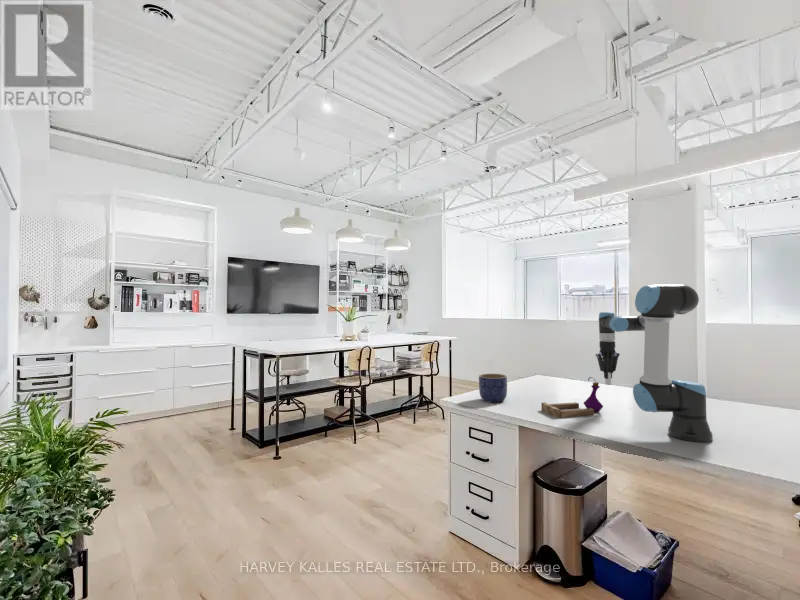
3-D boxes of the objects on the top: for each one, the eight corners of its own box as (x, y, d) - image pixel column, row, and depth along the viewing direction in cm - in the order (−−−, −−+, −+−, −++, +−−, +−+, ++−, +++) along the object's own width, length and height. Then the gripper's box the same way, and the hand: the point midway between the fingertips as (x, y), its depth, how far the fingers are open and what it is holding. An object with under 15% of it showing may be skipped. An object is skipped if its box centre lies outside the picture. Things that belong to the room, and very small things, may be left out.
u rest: (593, 415, 200) (593, 407, 200) (557, 417, 197) (556, 409, 197) (576, 407, 215) (575, 400, 215) (541, 410, 211) (541, 402, 211)
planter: (490, 396, 246) (490, 372, 247) (513, 400, 234) (512, 375, 234) (473, 400, 236) (473, 375, 236) (496, 405, 223) (495, 379, 223)
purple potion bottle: (597, 409, 211) (596, 375, 212) (603, 412, 204) (602, 378, 204) (583, 408, 212) (582, 375, 213) (588, 412, 205) (587, 378, 205)
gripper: (613, 339, 215) (614, 382, 215) (591, 340, 213) (592, 383, 213) (623, 340, 208) (624, 385, 208) (600, 341, 206) (602, 386, 205)
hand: (608, 384), depth 210 cm, fingers closed
